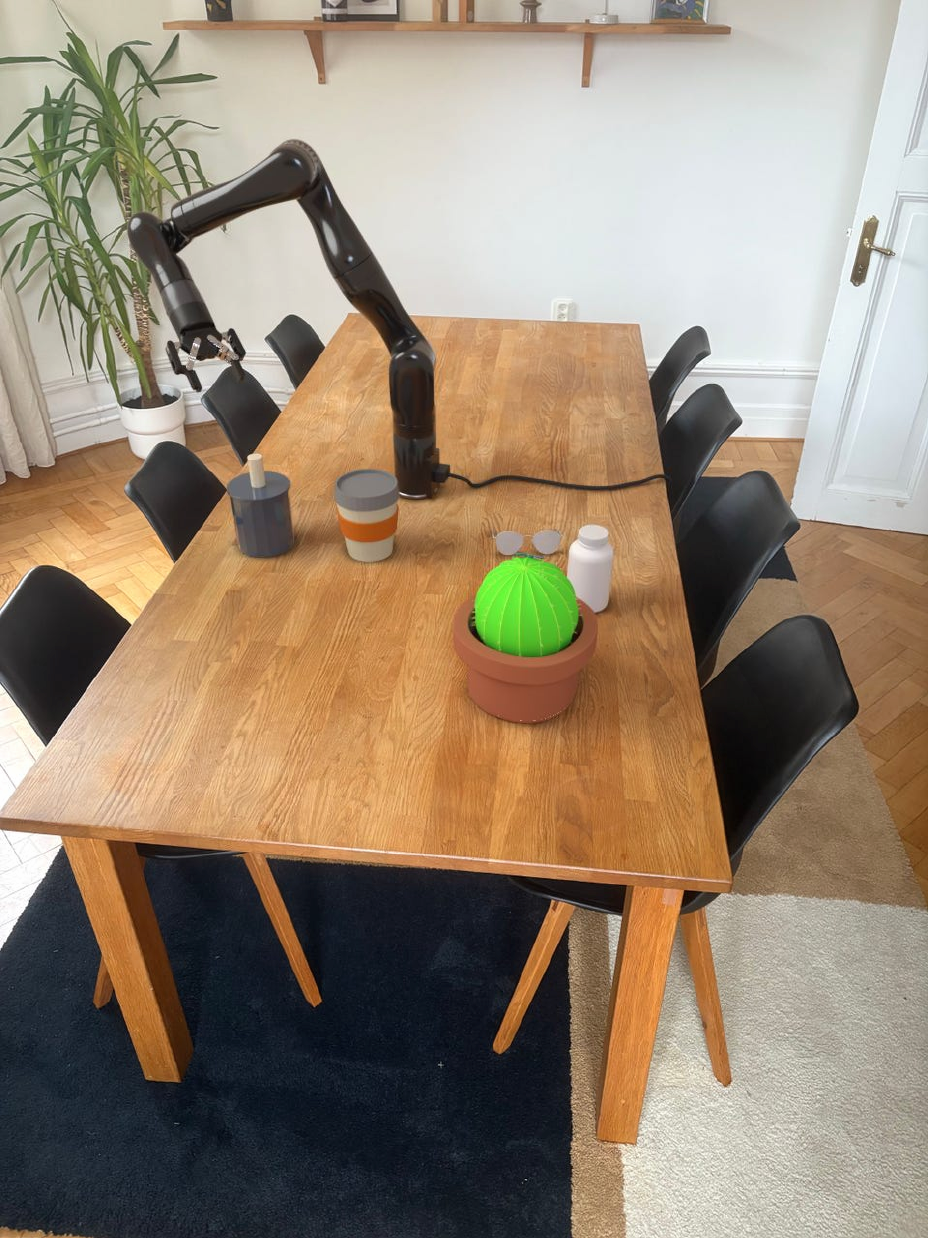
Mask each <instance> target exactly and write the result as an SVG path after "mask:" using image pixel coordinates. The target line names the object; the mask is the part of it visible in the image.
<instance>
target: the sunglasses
mask: <svg viewBox="0 0 928 1238" xmlns="http://www.w3.org/2000/svg"><path fill="white" fill-rule="evenodd" d="M491 532H492V533H491V534H492V539H495V546H496V549H497V550H498V552H499V553H500V554H502V555H505V556H513V555H514V554H513V553H518V551H520V549H521V548H522V547H523V545H524V543H525V540H524V538H525V537H531V538H532V539H531V540H530V542H531V544H532V546H533V547H534V548H535V550H537V551H538V552H539V553H541V554H543V555H551V554H553V553H555V552H556V551H557V550H558V549H559V546H560V544H561V538H563V537H564V535H563V533H562V532H561V531H560V529H559V528H558V527H555V529H554V530H551V529H550V530H549V529H548V530H541V531H538V532H536V533H535V534H534V535H529V534H525V535H522V534H521V533H520V532H518V531H514V530H513V531H511V530H510V531H509V530H508V531H507V530H505V531H501V532H499V533H498V534H497V535H496V536H495V535H494V530H493V528H491Z"/></svg>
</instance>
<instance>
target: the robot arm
mask: <svg viewBox="0 0 928 1238" xmlns="http://www.w3.org/2000/svg"><path fill="white" fill-rule="evenodd" d="M291 201H296V202H297V203H298V205H299V206H300V208H301V209H302V211H303V212H304V214H305V215H306V217H307V218H308V220H309V222H310V224H311V226H312V229H313V231H314V234H315V237H316V239H317V243H318V246H319V249H320V251H321V255H322V257H323V260H324V263H325V265H326V268H327V270H328V272H329V274H330V275H331V277H332V279H333V280H334V282H335V283H336V285H337V286H338V289H339V290H340V291H341V293H342V294H343V296H344V297H345V298H346V300H347V301H348V302H349V304H350V305H352V307H353V308H354V309H355V310H357V312H358V313H359V314H360V315H362V316H363V317H364V318H365V319H366V320H367V321H368V322H369V323H370V324H371V325H372V326H373V327H374V329H375V330H376V331H377V333H378V335H379V336H380V338H381V340H382V342H383V343H384V345H385V347H386V349H387V351H388V354H389V356H390V360H389V363H388V388H389V404H390V410H391V416H392V417H391V419H392V441H393V467H394V476H395V477H396V479H397V481H398V488H399V497H401V498H404V499H407V500H424V499H430V500H431V499H433V497H434V496H435V495H436V493H437V492H438V490H439V489H440V488H441V484H445V483H446V482H447V481H448V479H449V478H451V479H456V480H460V481H461V482H464V483H466V484H467V485H468V486H469V487H470V488H475V489H478V488H482V487H484V486H487V485H490V484H492V483H494V482H497V481H501V480H518V481H519V480H521V481H527V482H533V483H539V484H545V485H552V486H555V487H564V488H568V489H569V488H570V489H578V490H579V489H580V490H588V491H589V490H592V491H605V490H606V491H607V490H608V491H609V490H617V489H623V488H627V487H630V486H631V487H632V486H636V485H642V484H644V483H648V482H650V481H653V480H656V479H664V480H666V481H667V482H672V481H673V479H672V478H671V477H670V476H669V475H668V474H664V473H658V474H653V475H650V476H648V477H645V478H642V479H638V480H633V481H628V482H624V483H623V482H622V483H618V484H611V485H585V484H575V483H568V482H561V481H555V480H551V479H545V478H544V479H543V478H537V477H529V476H523V475H517V474H516V475H515V474H505V475H498V476H494V477H492V478H489V479H488V480H485V481H483V482H480V483H479V482H478V483H473V482H472V481H471V480H470V479H469V478H467V477H466V476H463V475H460V474H456V473H452V472H451V465H450V464H447V463H440V461H441V460H440V459H441V458H440V448H439V447H437V406H436V402H435V371H436V365H437V356H436V352H435V350H434V348H433V346H432V345H431V343H430V342H429V340H428V339H427V338H426V337H425V335H424V334H423V333H422V331H421V330H420V329H419V328H418V326H417V325H416V323H415V322H414V321H413V319H412V318H411V317H410V315H409V313H408V312H407V310H406V309H405V307H404V305H403V303H402V302H401V299H400V298H399V295H398V293H397V292H396V289H395V288H394V286H393V284H392V283H391V281H390V279H389V277H388V276H387V274H386V273H385V270H384V269H383V266H382V264H381V263H380V262H379V260H378V258H377V257H376V255H375V253H374V252H373V250H372V248H371V247H370V245H369V243H368V242H367V241H366V239H365V238H364V236H363V235H362V233H361V231H360V230H359V228H358V226H357V224H356V223H355V221H354V220H353V219H352V217H351V216H350V214H349V213H348V211H347V209H346V208H345V206H344V204H343V203H342V201H341V199H340V197H339V195H338V193H337V191H336V189H335V188H334V185H333V183H332V181H331V179H330V176H329V174H328V172H327V169H326V167H325V166H324V164H323V161H322V159H321V158H320V155H319V154H318V153H317V151H316V150H315V149H314V148H313V147H312V145H310V144H308V143H307V142H306V141H304V140H301V139H299V138H291V139H286V140H285V141H283V142H282V143H280V144H279V145H278V146H276V147H274V149H272V150H271V152H270V153H269V154H268V156H266V157H265V158H264V159H262V160H261V161H260V162H258V163H257V164H256V165H255V166H253V167H252V168H250V169H249V170H248V171H246V172H244V173H242V174H240V175H239V176H237V177H234V178H232V179H229V180H227V181H224V182H221V183H217V184H214V185H212V186H208V187H206V188H204V189H201V190H199V191H197V192H194V193H192V194H189V195H187V196H186V197H184V198H182V199H179V200H178V201H176V202H175V203H173V205H172V206H171V207H170V217H168V218H166V219H164V218H161V217H160V216H157V215H156V214H154V213H152V212H149V211H144V210H140V211H136V212H134V213H133V214H131V216H130V217H129V219H128V221H127V224H126V235H127V238H128V242H129V244H130V246H131V248H132V249H133V251H134V253H135V254H136V256H137V257H138V259H139V260H140V262H141V263H142V264H143V266H144V267H145V269H146V270H147V272H148V273H149V274H150V275H151V277H152V279H153V282H154V284H155V287H156V289H157V291H158V294H159V296H160V299H161V301H162V304H163V307H164V310H165V314H166V316H167V317H168V319H169V321H170V323H171V325H172V328H173V330H174V332H175V334H176V337H177V339H178V341H175V342H174V341H172V340H171V339H170V340H167V342H166V345H165V346H166V347H165V349H164V350H165V352H166V355H167V358H168V361H169V363H170V366H171V369H172V371H173V373H174V375H176V376H179V375H184V376H185V377H186V379H187V381H188V383H189V385H190V388H191V389H192V390H193V391H195V392H196V393H201V392H202V391H203V384H202V382H201V381H200V379H199V376H198V374H197V371H196V370H195V369H194V365H195V362H196V361H199V362H203V361H206V360H212V359H216V358H218V359H219V360H220V361H224V362H226V363H228V364H229V365H230V368H231V371H232V373H233V375H234V378H235V380H236V382H237V383H238V384H240V383H241V384H242V383H243V381H244V379H245V376H246V373H245V371H244V369H243V366H242V364H241V362H242V361H244V359H245V356H246V354H247V351H246V349H245V348H244V345H243V344H242V342H241V340H240V337H239V336H238V334H237V332H236V331H235V329H234V328H232V327H230V328H228V331H227V330H226V331H224V332H220V331H219V330H218V329H217V326H216V324H215V322H214V319H213V317H212V314H211V313H210V310H209V308H208V306H207V304H206V301H205V299H204V296H203V295H202V293H201V292H200V289H199V288H198V286H197V285H196V282H195V280H194V278H193V275H192V273H191V271H190V269H189V267H188V265H187V263H186V262H185V261H184V260H183V259H182V258H181V257H180V256H179V255H177V254H179V253H180V252H181V251H183V250H184V249H185V248H186V247H187V246H188V245H190V244H191V243H192V242H193V241H194V240H196V239H197V238H198V237H201V236H204V235H206V234H208V233H210V232H212V231H214V230H216V229H218V228H220V227H223V226H225V225H227V224H228V223H230V222H233V221H234V220H237V219H239V218H240V217H242V216H245V215H247V214H249V213H252V212H254V211H257V210H259V209H263V208H266V207H270V206H274V205H278V204H281V203H287V202H291ZM222 341H225V342H226V344H229V346H230V347H229V346H227V345H225V344H224V343H222ZM230 348H231V349H232V350H231V349H230ZM180 350H181V351H183V352H184V353H186V354H187V355H188V359H187V362H186V364H182V361H181V358H180V356H179V352H180Z"/></svg>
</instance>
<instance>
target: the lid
mask: <svg viewBox="0 0 928 1238" xmlns="http://www.w3.org/2000/svg"><path fill="white" fill-rule="evenodd" d="M246 458H247V465H248V472H246V473H245V472H244V473H242V474H239V475H237V476H235V477H233V478H232V479H230V480H229V481H228V483H227V484H226V494H228V496H229V498H230V497H232V498H234V499H236V500H239V501H243V502H265V501H270V500H273V499H276V498H279V497H281V496H283V495H284V494H286V493H287V492H288V491H289V492H290V489H291V480H290V478H289V477H288V476H286V475H285V474H283V473H281V472H277V471H272V470H265V465H264V459H263V454H260V453H251V454H249V455H247V457H246Z"/></svg>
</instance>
